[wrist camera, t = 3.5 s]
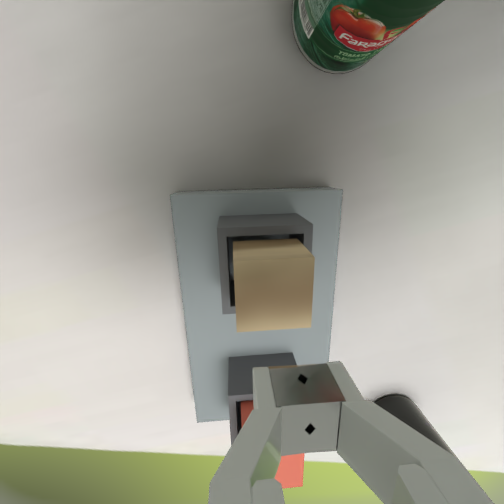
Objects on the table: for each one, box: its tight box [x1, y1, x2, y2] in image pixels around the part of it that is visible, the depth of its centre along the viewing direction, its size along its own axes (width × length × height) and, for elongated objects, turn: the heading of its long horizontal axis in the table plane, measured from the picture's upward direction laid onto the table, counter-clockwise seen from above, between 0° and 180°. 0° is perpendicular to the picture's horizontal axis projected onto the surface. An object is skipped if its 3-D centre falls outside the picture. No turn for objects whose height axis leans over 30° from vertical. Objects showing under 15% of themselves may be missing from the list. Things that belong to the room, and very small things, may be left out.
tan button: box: [233, 238, 315, 332], centre depth 16 cm, size 4×4×4 cm
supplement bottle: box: [375, 395, 456, 457], centre depth 28 cm, size 7×7×12 cm
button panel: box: [170, 187, 343, 446], centre depth 24 cm, size 24×14×8 cm, turn 2°
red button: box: [241, 400, 304, 488], centre depth 21 cm, size 4×4×4 cm
